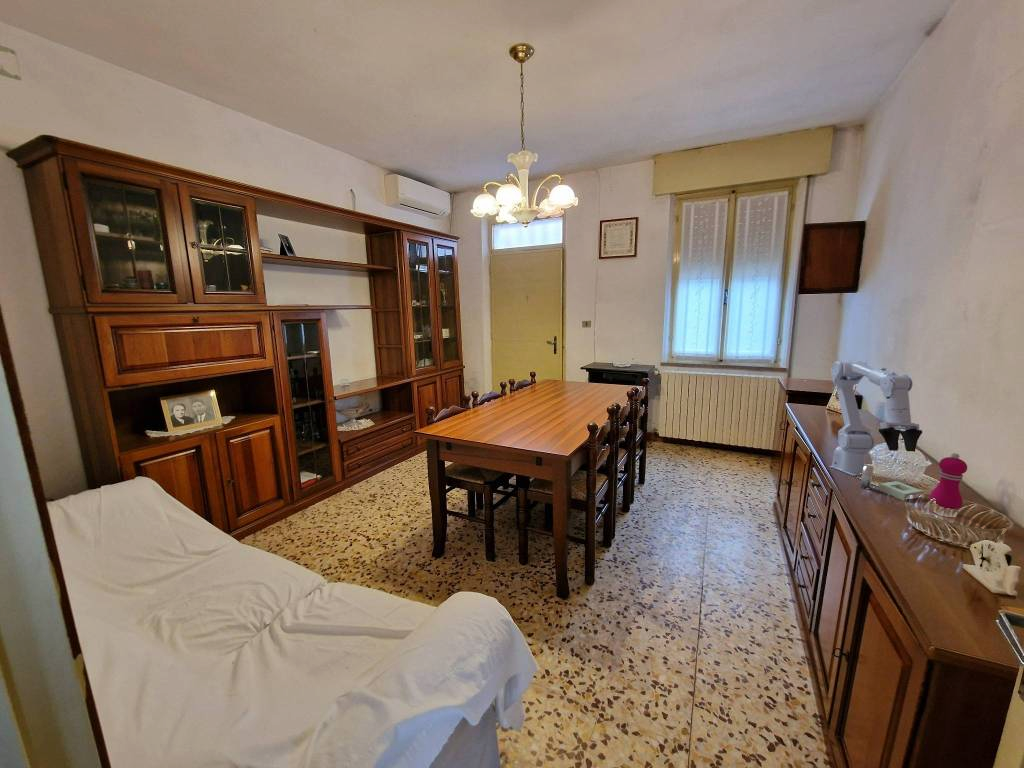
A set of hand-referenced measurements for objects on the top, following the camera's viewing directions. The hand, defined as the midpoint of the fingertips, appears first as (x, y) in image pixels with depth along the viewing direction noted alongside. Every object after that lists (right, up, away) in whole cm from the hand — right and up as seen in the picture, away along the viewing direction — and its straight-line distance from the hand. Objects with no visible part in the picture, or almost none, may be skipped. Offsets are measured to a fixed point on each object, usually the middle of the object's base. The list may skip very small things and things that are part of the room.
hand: (902, 451), depth 138 cm
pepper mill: (+7, -19, -6) cm, 21 cm away
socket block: (+5, -16, +6) cm, 18 cm away
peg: (-2, -15, +12) cm, 19 cm away
